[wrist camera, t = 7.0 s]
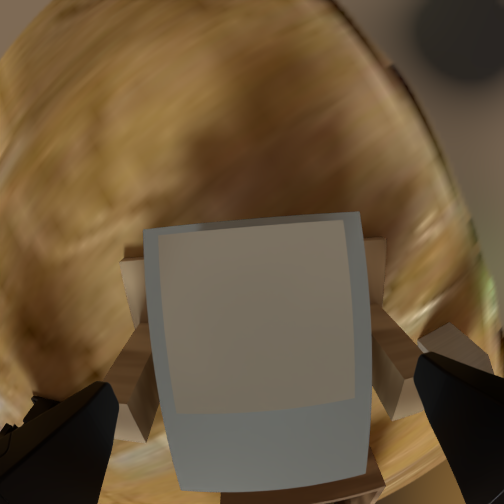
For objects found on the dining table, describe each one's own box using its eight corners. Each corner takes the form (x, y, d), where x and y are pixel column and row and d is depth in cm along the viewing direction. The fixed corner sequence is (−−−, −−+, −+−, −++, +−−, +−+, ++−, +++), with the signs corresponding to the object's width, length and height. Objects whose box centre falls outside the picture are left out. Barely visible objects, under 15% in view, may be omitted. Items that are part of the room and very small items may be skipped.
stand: (367, 376, 21) (409, 453, 13) (160, 394, 21) (133, 477, 13) (381, 236, 18) (465, 281, 10) (123, 258, 18) (49, 317, 10)
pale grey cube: (318, 357, 12) (354, 398, 7) (204, 367, 12) (176, 413, 7) (309, 245, 12) (343, 219, 8) (194, 254, 12) (158, 235, 8)
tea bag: (418, 389, 22) (464, 457, 13) (417, 339, 21) (481, 412, 11) (447, 373, 22) (498, 433, 13) (449, 321, 21) (518, 382, 11)
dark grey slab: (343, 438, 16) (365, 473, 11) (195, 451, 16) (181, 490, 11) (333, 230, 17) (359, 211, 13) (170, 243, 17) (143, 229, 13)
